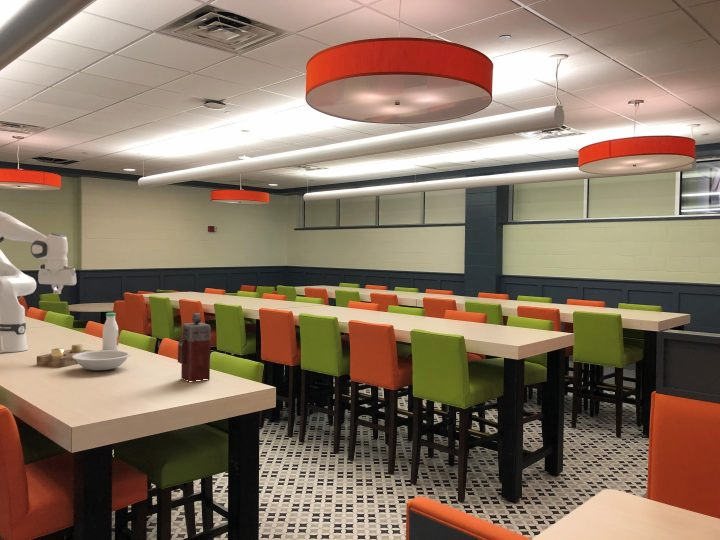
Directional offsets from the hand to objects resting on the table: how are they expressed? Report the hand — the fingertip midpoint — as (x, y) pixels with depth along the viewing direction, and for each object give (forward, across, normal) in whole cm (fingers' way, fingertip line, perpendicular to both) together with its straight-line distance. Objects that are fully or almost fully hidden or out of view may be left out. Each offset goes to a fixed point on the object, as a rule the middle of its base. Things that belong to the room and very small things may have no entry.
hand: (57, 293), depth 280 cm
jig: (+31, -16, +10) cm, 36 cm away
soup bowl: (+32, -42, +18) cm, 55 cm away
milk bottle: (+31, -12, -24) cm, 41 cm away
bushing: (+31, -16, +16) cm, 38 cm away
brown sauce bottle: (+32, -90, +21) cm, 98 cm away
